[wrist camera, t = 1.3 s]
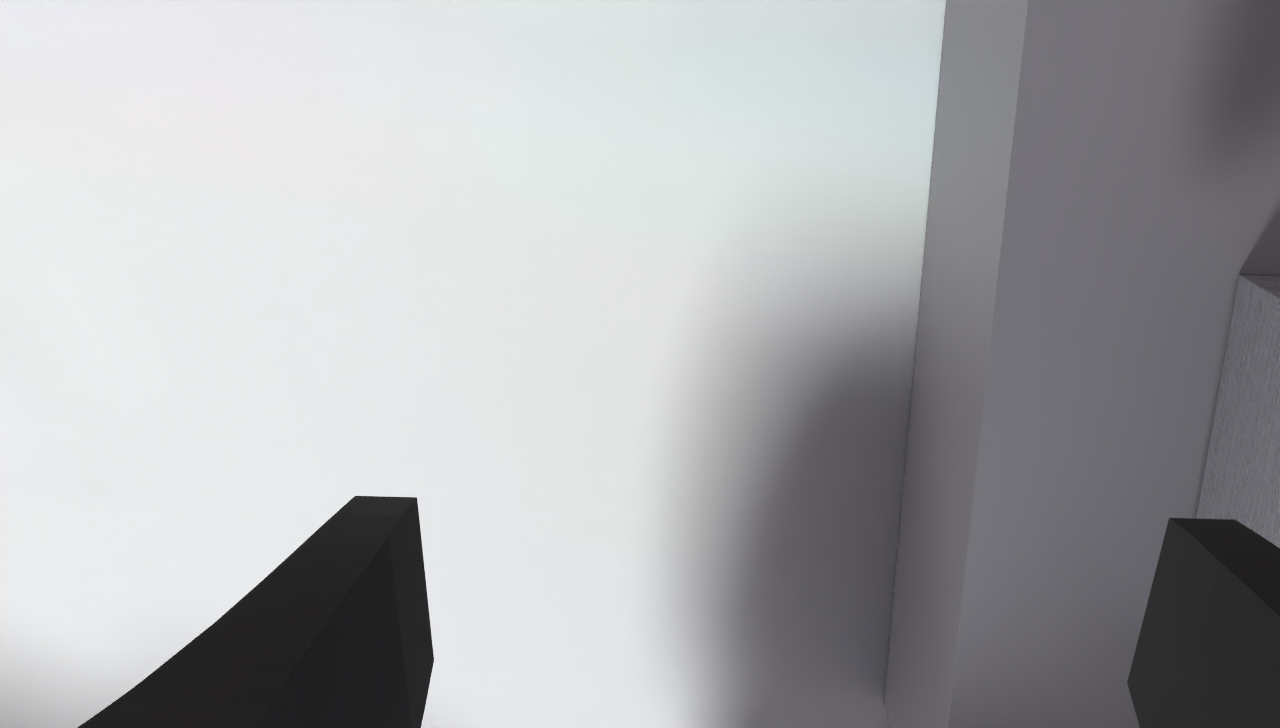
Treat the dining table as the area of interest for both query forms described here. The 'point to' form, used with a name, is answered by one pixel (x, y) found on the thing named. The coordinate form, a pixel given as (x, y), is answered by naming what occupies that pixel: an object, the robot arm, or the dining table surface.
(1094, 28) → the socket block
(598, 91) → the dining table surface
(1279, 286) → the clip
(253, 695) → the robot arm
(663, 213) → the dining table surface
